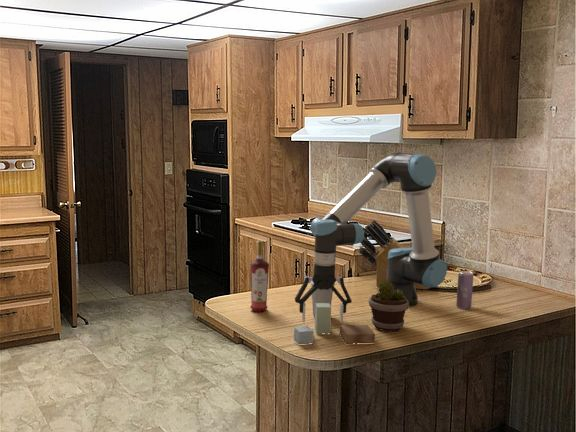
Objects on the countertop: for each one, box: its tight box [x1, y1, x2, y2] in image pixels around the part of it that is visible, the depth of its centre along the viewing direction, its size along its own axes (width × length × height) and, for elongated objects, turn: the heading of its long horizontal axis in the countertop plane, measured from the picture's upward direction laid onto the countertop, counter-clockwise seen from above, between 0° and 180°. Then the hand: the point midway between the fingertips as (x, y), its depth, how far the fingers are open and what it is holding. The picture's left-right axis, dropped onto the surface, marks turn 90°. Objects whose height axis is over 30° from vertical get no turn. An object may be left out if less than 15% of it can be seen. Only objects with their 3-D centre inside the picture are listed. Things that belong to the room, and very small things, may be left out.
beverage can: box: [455, 270, 474, 311], centre depth 261 cm, size 6×6×15 cm
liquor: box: [250, 239, 270, 312], centre depth 249 cm, size 7×7×28 cm
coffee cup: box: [309, 281, 336, 318], centre depth 244 cm, size 10×10×15 cm
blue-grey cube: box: [293, 325, 314, 345], centre depth 215 cm, size 5×5×5 cm
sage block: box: [314, 303, 332, 335], centre depth 227 cm, size 5×5×10 cm
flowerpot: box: [368, 278, 409, 332], centre depth 233 cm, size 14×15×20 cm
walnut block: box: [339, 324, 376, 345], centre depth 220 cm, size 10×10×4 cm
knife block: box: [358, 219, 431, 291], centre depth 292 cm, size 11×35×31 cm, turn 82°
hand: (322, 321), depth 227 cm, fingers open, 13 cm apart
